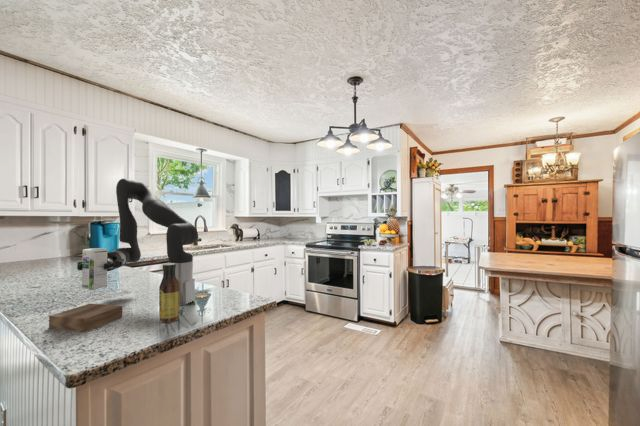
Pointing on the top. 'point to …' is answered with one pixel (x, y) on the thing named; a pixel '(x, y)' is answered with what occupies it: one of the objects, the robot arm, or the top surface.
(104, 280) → the syrup box
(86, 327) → the walnut plinth
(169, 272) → the sauce bottle
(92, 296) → the top surface
